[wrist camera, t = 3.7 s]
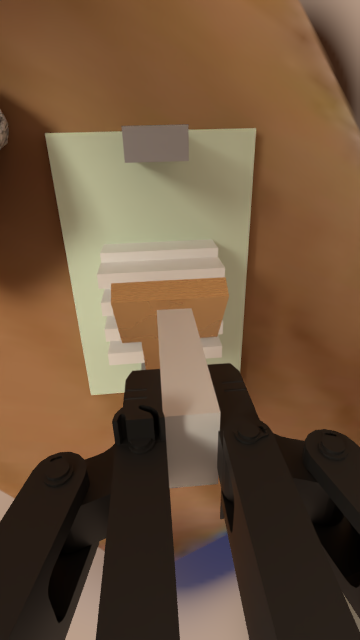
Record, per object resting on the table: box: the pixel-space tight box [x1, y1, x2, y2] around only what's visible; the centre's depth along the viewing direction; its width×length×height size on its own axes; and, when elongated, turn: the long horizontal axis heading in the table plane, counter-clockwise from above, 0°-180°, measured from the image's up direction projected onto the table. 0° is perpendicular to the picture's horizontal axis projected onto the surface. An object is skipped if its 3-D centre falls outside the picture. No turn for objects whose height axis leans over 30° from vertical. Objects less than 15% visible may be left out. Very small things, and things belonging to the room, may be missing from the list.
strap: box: [111, 277, 229, 370], centre depth 24 cm, size 21×5×1 cm
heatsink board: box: [45, 125, 256, 395], centre depth 31 cm, size 17×26×9 cm, turn 1°
